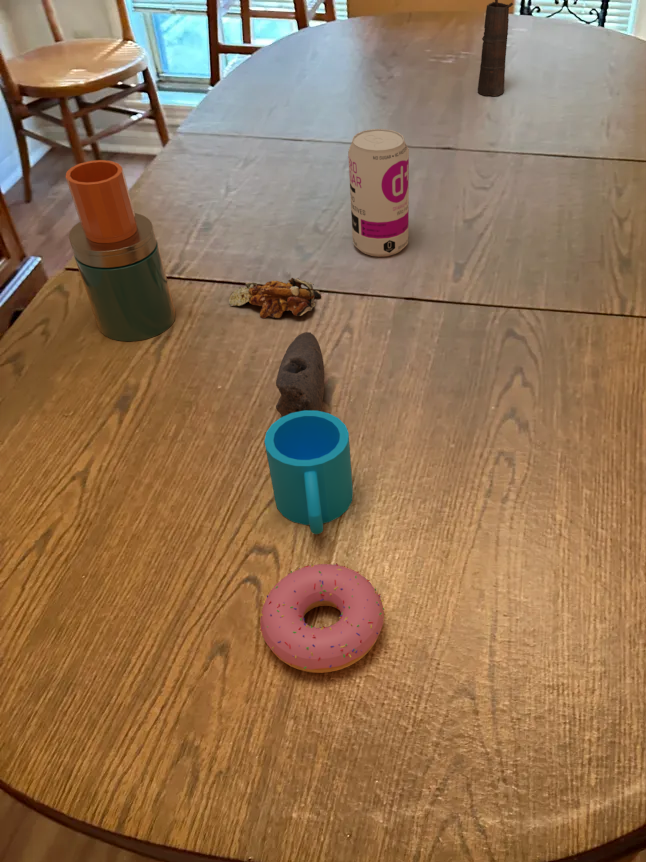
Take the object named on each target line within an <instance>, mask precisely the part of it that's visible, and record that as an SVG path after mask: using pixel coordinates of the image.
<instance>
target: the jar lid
mask: <svg viewBox="0 0 646 862" xmlns="http://www.w3.org/2000/svg"><path fill="white" fill-rule="evenodd" d="M134 213H135V217H136V222H137V226H138V228H137V231H136V233H135V234H134V235H132V236H131V237H129V238H127V239H125V240H122V241H119V242H114V243H96V242H93V241H90V240H89V239H87V238H86V236H85V234H84V231H83V229H82V226H81V223H80V221H79V222H77V223H76V224H75V225H74V226H72V228H71V229H70V231H69V233H68V240H69V243H70V246H71V250H72V251H73V256H74V255H75V257H76V258H77V259H78V260H79V261H80V262H81V263H83V264H86V265H88V266H92V267H100V268H112V267H120V266H125V265H129V264H132V263H135V262H137V261H140V260H142V259H144V258H145V257H147V256H148V255H149V254H151V253H152V252H153V250H154V249H155V247H156V240H157V237H156V234H155V229H154V226H153V223H152V221H151V220H150V219H149V218H148V217H146V216H145V215H143V214H140V213H137V212H134ZM75 257H74V258H75Z"/></svg>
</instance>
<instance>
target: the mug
mask: <svg viewBox="0 0 646 862" xmlns="http://www.w3.org/2000/svg"><path fill="white" fill-rule="evenodd" d="M264 447H265V452H266V459H267V465H268V469H269V470H268V471H269V475H270V480H271V487H272V492H273V498H274V502H275V505H276V509H277V510H278V512H279V513H280V514H281V515H282V517H284V518H286V519H287V520H289V521H290V522H292V523H297V524H300V525H303V526H309V529H310V532H311V533H312V534H313V535H319V534H322V533H324V524H327V523H331V522H332V521H334V520H336V519H338V518H341V516H342V515H343V514H345V513H346V512H347V511H348V510H349V508H350V506H351V504H352V502H353V496H354V486H353V473H352V459H351V446H350V433H349V430H348V428H347V425H346V424H345V423H344V422H343V421H342V420H341V419H340V418H339V417H338V416H335V415H334V414H331V413H329V412H325V411H322V410H321V411H309V410H304V411H299V412H294V413H290V414H288V415H286V416H283V417H282V416H280V417H279V418H278V419H277V420H275V421H274V422H273V423H271V425H270V426H269V427H268V429H267V431H266V432H265V438H264Z"/></svg>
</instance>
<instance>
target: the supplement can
mask: <svg viewBox="0 0 646 862" xmlns="http://www.w3.org/2000/svg"><path fill="white" fill-rule="evenodd" d="M347 152H348V153H347V155H348V158H347V159H348V175H349V193H350V214H351V233H352V243H353V244H354V247H355V248H356V249H358V250H359V251H360V252H361V253H362V254H365V255H367V256H372V257H378V258H380V257H381V258H382V257H389V256H394V255H396V254H398V253H401V252H402V250H403V249H404V248H406V246H407V245H408V244H409V227H410V225H409V223H410V221H409V217H410V216H409V215H410V214H409V207H410V206H409V204H410V202H409V201H410V200H409V199H410V198H409V192H410V191H409V190H410V187H409V185H410V183H409V181H410V180H409V179H410V175H409V174H410V149H409V147H408V145H407V143H406V142H405V137H404V136H403V134H402V133H400V132H397V131H395V130H392V129H386V128H371V129H365V130H362V131H360V132H357V133H356V134H355V135H354V136H353V137H352V140H351V143H350V146H349V149H348V151H347Z"/></svg>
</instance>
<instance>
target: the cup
mask: <svg viewBox="0 0 646 862" xmlns="http://www.w3.org/2000/svg"><path fill="white" fill-rule="evenodd" d="M65 180H66V183H67V186H68V189H69V192H70V195H71V198H72V202H73V205H74V208H75V211H76V213H77V217H78V220H79V222H80V223H81V226H82V229H83V231H84V234H85V236H86V238H87V239H89V240H90V241H93V242H96V243H114V242H119V241H122V240H125V239H127V238H129V237H131V236H132V235H134V234H135V233H136V231H137V228H138V226H137V222H136V217H135V213H136V212H135V210H134V206H133V203H132V199H131V198H132V197H131V195H130V191H129V187H128V184H127V181H126V176H125V173H124V168H123V166H121V164H120V163H118V162H116V161H112V160H107V159H106V160H105V159H96V160H88V161H84V162H81V163H77V164H76V165H74V166H71V167H70V168H69V169H68V170H67V171H66V172H65Z"/></svg>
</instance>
